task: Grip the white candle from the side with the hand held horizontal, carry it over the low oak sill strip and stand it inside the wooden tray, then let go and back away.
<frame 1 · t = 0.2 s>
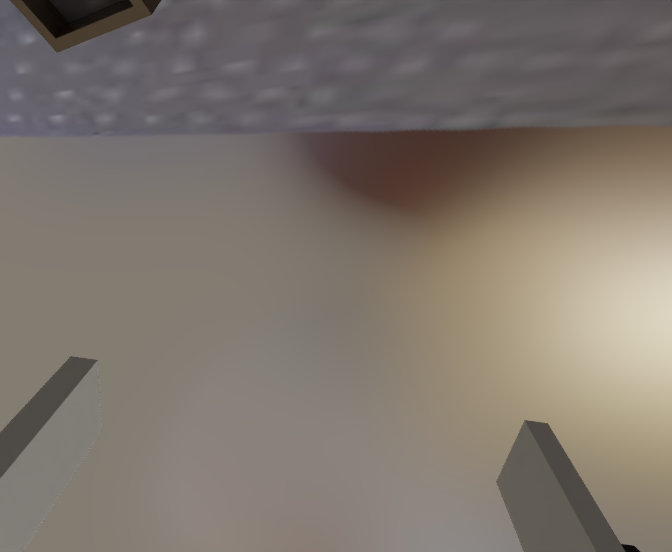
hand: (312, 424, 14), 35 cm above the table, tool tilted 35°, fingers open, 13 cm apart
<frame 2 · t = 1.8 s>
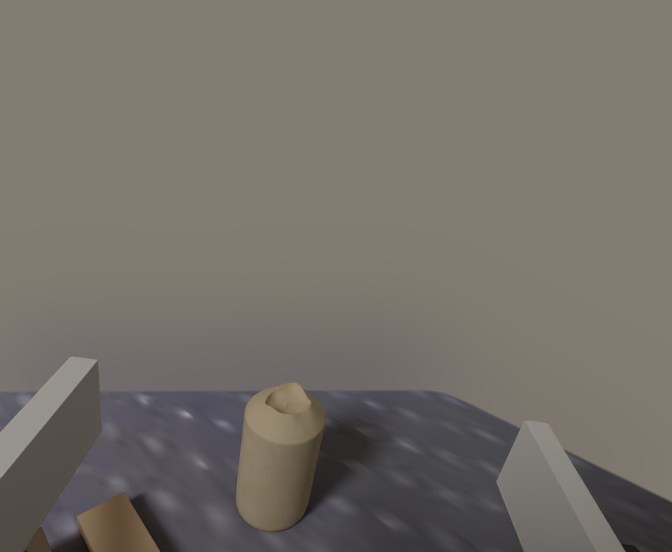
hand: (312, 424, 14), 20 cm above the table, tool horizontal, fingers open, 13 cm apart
candle: (271, 500, 34), on the table
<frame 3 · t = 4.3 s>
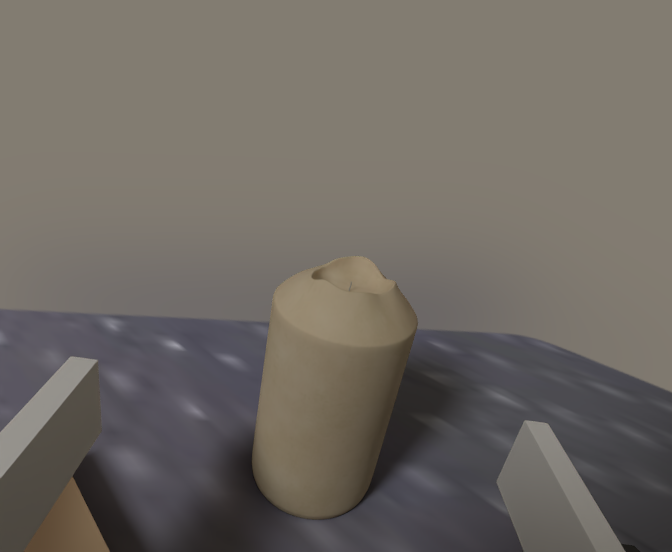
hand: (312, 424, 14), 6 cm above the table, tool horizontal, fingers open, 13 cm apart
candle: (310, 469, 20), on the table
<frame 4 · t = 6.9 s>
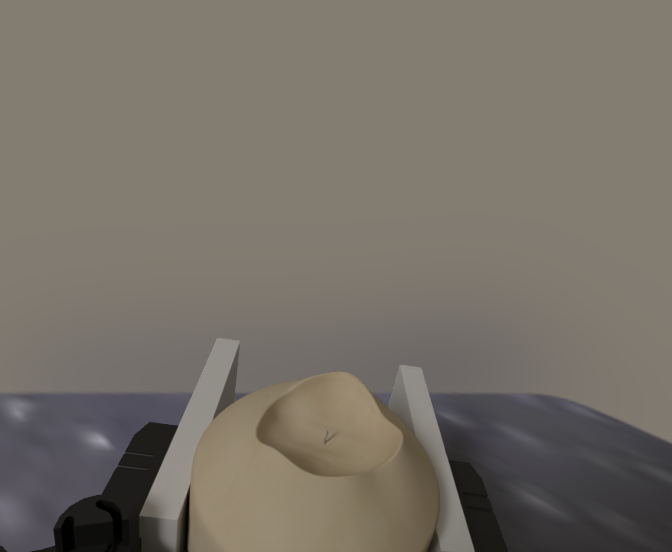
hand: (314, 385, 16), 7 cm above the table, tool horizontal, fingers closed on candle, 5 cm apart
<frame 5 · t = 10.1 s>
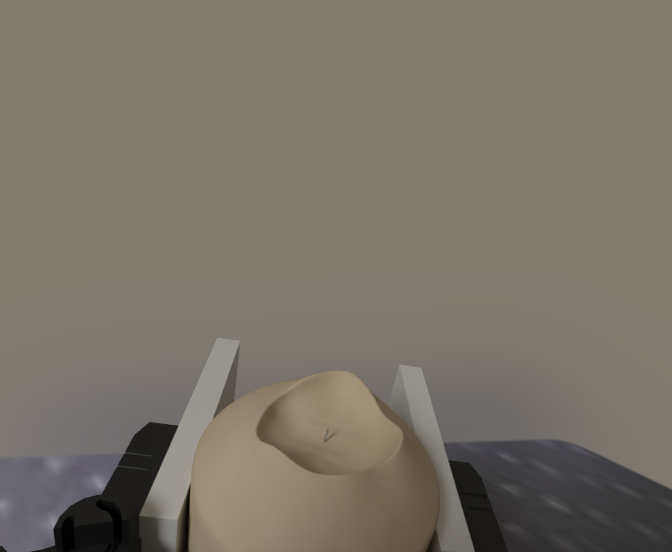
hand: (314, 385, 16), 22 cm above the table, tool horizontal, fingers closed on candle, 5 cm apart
when the fingers open (8 cm above the table, at t = 13.3 s): candle drops 1 cm, resting in wooden tray.
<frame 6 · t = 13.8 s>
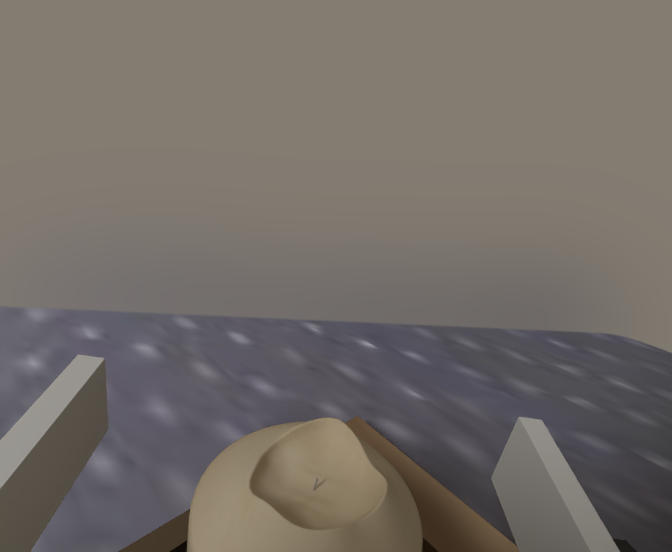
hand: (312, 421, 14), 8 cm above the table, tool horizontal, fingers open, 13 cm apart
sill strip: (425, 526, 20), on the table
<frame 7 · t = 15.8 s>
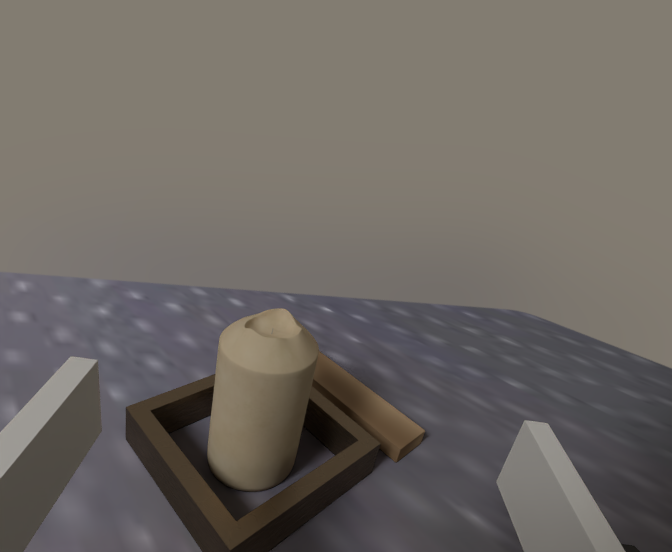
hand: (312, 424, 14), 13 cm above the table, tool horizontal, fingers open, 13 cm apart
sill strip: (347, 402, 34), on the table
wooden tray: (251, 455, 28), on the table
candle: (251, 458, 28), resting in wooden tray
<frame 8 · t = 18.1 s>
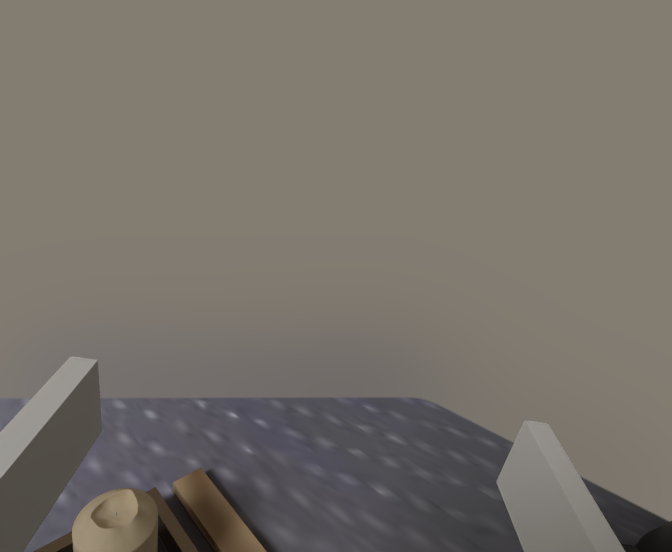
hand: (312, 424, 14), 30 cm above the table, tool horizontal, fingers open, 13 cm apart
sill strip: (218, 527, 41), on the table
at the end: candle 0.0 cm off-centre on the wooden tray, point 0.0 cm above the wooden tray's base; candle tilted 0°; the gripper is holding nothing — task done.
